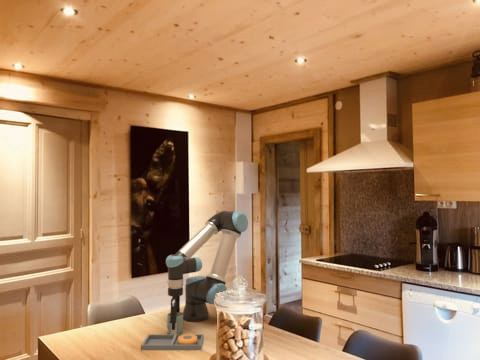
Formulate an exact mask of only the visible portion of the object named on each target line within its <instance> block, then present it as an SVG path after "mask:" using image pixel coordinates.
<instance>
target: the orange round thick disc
mask: <svg viewBox="0 0 480 360" xmlns="http://www.w3.org/2000/svg"><path fill="white" fill-rule="evenodd" d="M183 334H184V333H183ZM178 345H197V336H196V335H193V334H192V333H185V334H184V335H181V336H179V337H178Z"/></svg>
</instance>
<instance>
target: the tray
mask: <svg viewBox="0 0 480 360" xmlns="http://www.w3.org/2000/svg"><path fill="white" fill-rule="evenodd" d="M181 335H184V333H183V334H182V333H180V334H169V333H165V334H163V333H161V334H160V333H158V334H157V333H154V334H153V333H152V334H151V333H149V334H147V335H146V337H145V338H144V341H143V342H142V343H141V345H140V351H202V347H203V343H204V337H205V336H204V334H201V333H200V334H199V333H198V334H197V333H196V334H195V333H194V334H193V335H196V336H197V345H178V337H179V336H181Z"/></svg>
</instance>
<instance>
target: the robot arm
mask: <svg viewBox="0 0 480 360" xmlns="http://www.w3.org/2000/svg"><path fill="white" fill-rule="evenodd" d="M248 226H249V221H248V217H247V215H246V214H245V212H242V211H233V210H232V211H231V210H223V211H219V212H217V213H215V214H214V215H212V216H211V217H210V218H208V219H207V220H206V222H204V226H203V227H202V228H201V229H200V230H198V232H196V234H194V235H193V237H191V238H190V239H189V240H188V241H187V242H186V243H185V244H184V245H183V246H182V247H181V248H180V249H179V250H178V251H177V252H176V253H175V254H170V255H168V256H167V257H166V259H165V264H166V267H167V279H168V280H167V281H166V282H167V287H168V288H167V296H169V297H171V299H170V313H171V315H170V322H169V323H171V334H177V322H176V316H177V312H181V307H180V304H181V303H180V302H181V301H180V300H181V298H180V297H181V296H183V295H185V302H184V307H183V310H182V311H183V312H182V313H183V321H184V320H185V321H188V322H201V321H202V322H203V321H205V320H207V319H209V315H210V314H209V310H208V306H207V304H209V305H214V306H216V305H215V304H214V299H215V294H216V293H219V292H223V291H226V290H227V291H228V288H227V286H226V283H227V282H226V279H225V277H226V275H227V274H226V273H227V271H228V269H229V265H230V261H231V258H232V255H233V252H234V249H235V247H236V246H235V245H236V243H237V239H238V238H241V236H242V233H243V232H245V231H247V229H248ZM219 232H221V233H222V235H221V238H220V242H219V244H218V248H217V251H216V254H215V258H214V260H213V264H212V267H211V269H210V272H209V274H207V275H206V276H204V275H199V276H198V275H197V276H192V277H191V276H190V277H187V278H186V279H185V285H184V275H186V274H192V273H197V272H199V271H200V272H201V270H202V268H203V262H202V259H201V258H200V257H193V256H194V255H196V253H197V252H198V251H200V249H201V248H202V247H203V246H204V245H205V244H206V243H207V242H208V241H209V240H210V239H211V238H212V237H213V236H214V235H217V234H218V233H219ZM183 286H184V287H185V288H183ZM184 289H185V293H184Z"/></svg>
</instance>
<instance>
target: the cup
mask: <svg viewBox="0 0 480 360" xmlns="http://www.w3.org/2000/svg"><path fill="white" fill-rule="evenodd" d="M170 315H171V312H169V313H167V315H166V327H167V332H168V333H167V334H171V323H169V322H170ZM176 322H177V334H182V332H183V328H184V319H183V312H181V311H180V312H177V316H176Z"/></svg>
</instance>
